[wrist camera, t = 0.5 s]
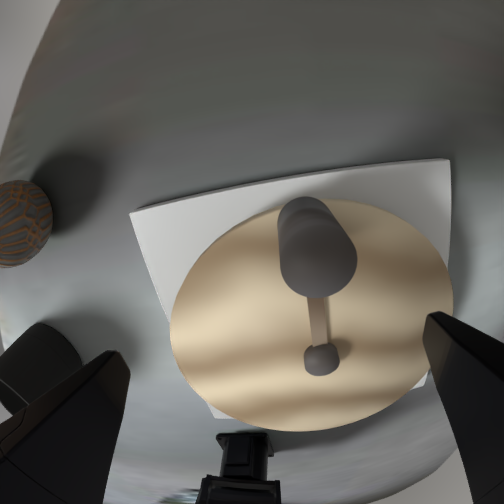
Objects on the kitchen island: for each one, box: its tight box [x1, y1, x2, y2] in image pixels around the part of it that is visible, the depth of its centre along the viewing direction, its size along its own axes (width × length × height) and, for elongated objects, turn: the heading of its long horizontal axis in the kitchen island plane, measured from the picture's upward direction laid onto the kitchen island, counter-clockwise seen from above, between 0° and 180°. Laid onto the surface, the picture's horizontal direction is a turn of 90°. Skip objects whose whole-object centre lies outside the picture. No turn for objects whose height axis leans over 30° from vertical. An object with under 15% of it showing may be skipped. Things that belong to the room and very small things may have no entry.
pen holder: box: [0, 324, 82, 415], centre depth 23 cm, size 9×9×10 cm
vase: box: [0, 180, 53, 268], centre depth 17 cm, size 7×7×9 cm
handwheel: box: [170, 196, 453, 431], centre depth 18 cm, size 22×21×8 cm
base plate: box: [129, 158, 451, 419], centre depth 22 cm, size 23×23×1 cm
